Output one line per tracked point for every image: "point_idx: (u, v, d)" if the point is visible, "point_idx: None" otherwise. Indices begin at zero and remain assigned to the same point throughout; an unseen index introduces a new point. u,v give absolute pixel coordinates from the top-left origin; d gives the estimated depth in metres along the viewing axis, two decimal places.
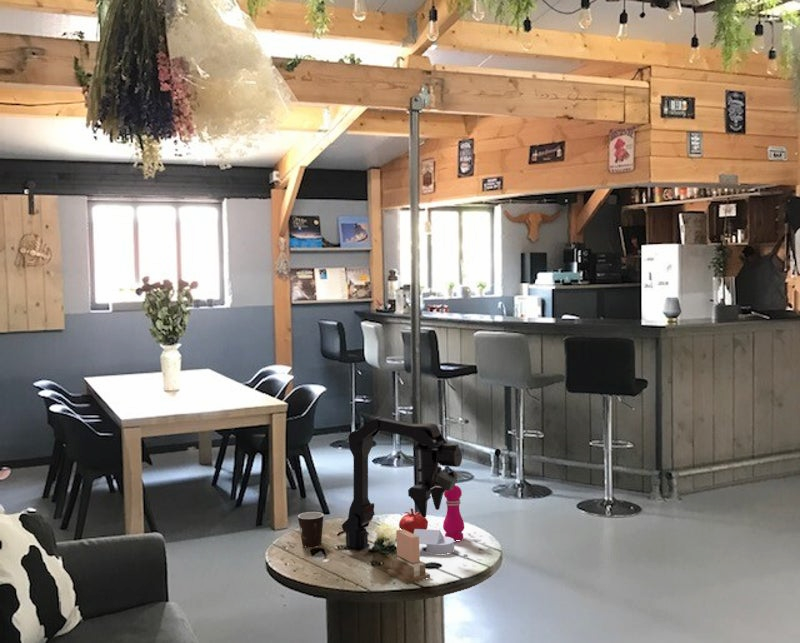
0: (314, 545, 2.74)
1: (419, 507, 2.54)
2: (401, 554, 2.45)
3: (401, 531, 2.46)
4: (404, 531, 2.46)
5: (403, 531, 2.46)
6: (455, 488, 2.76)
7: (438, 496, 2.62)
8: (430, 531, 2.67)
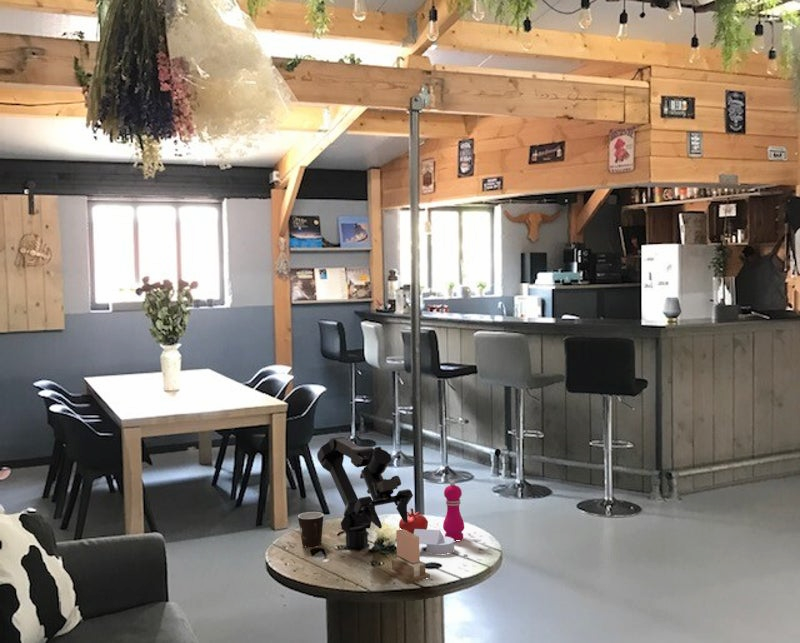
0: (314, 545, 2.74)
1: (373, 521, 2.50)
2: (401, 554, 2.45)
3: (401, 531, 2.46)
4: (404, 531, 2.46)
5: (403, 531, 2.46)
6: (455, 488, 2.76)
7: (402, 510, 2.56)
8: (430, 531, 2.67)
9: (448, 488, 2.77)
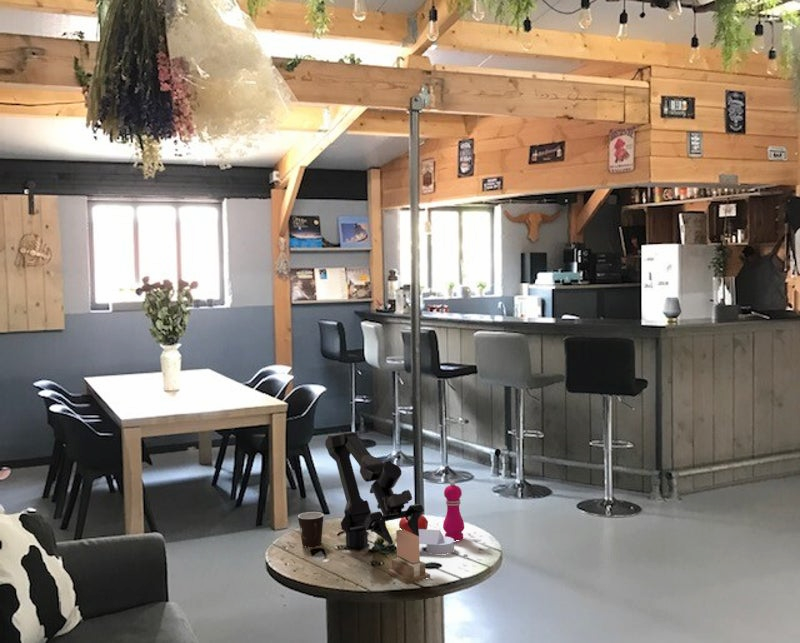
0: (314, 545, 2.74)
1: (383, 537, 2.45)
2: (401, 554, 2.45)
3: (401, 531, 2.46)
4: (404, 531, 2.46)
5: (403, 531, 2.46)
6: (455, 488, 2.76)
7: (413, 525, 2.50)
8: (430, 531, 2.67)
9: (448, 488, 2.77)
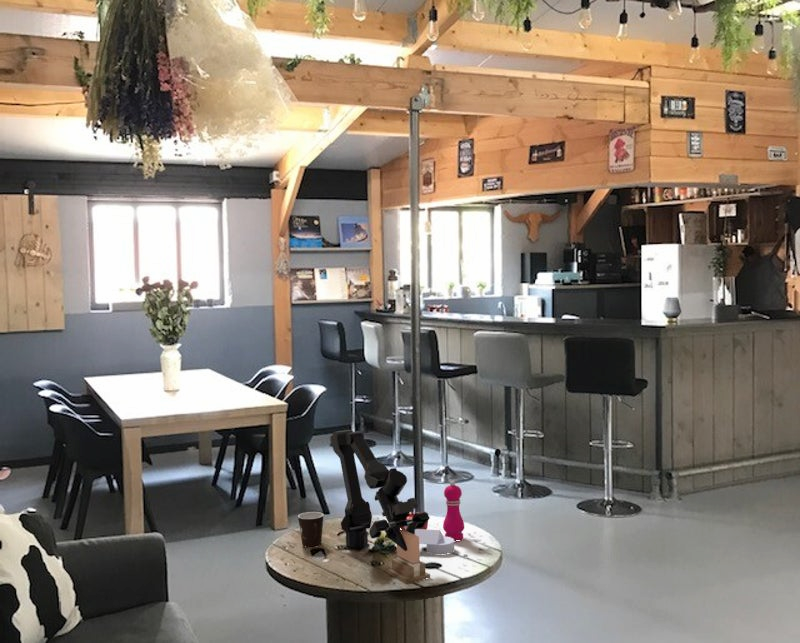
0: (314, 545, 2.74)
1: (398, 543, 2.44)
2: (401, 554, 2.45)
3: (401, 531, 2.46)
4: (404, 531, 2.46)
5: (403, 531, 2.46)
6: (455, 488, 2.76)
7: None
8: (430, 531, 2.67)
9: (448, 488, 2.77)
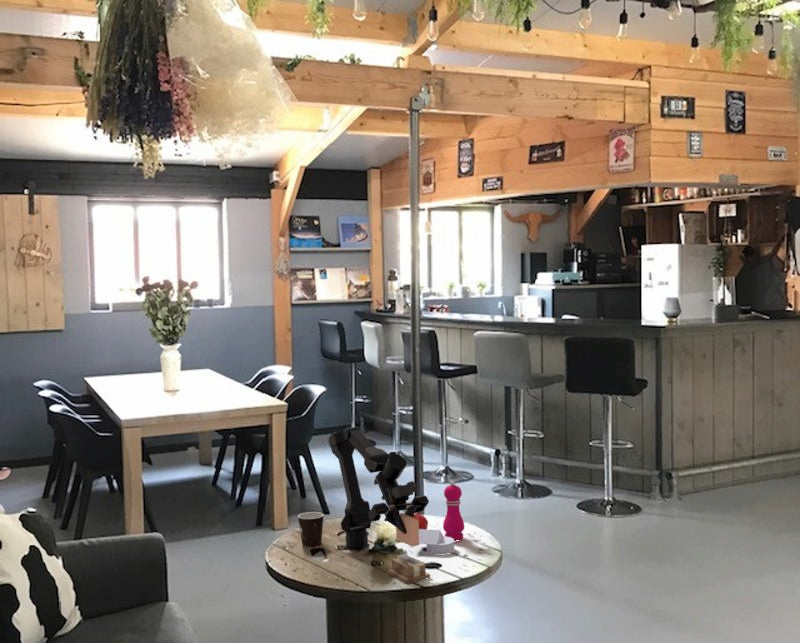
0: (314, 545, 2.74)
1: (397, 526, 2.44)
2: (401, 538, 2.45)
3: (401, 515, 2.46)
4: (404, 515, 2.46)
5: (403, 515, 2.46)
6: (455, 488, 2.76)
7: None
8: (430, 531, 2.67)
9: (448, 488, 2.77)
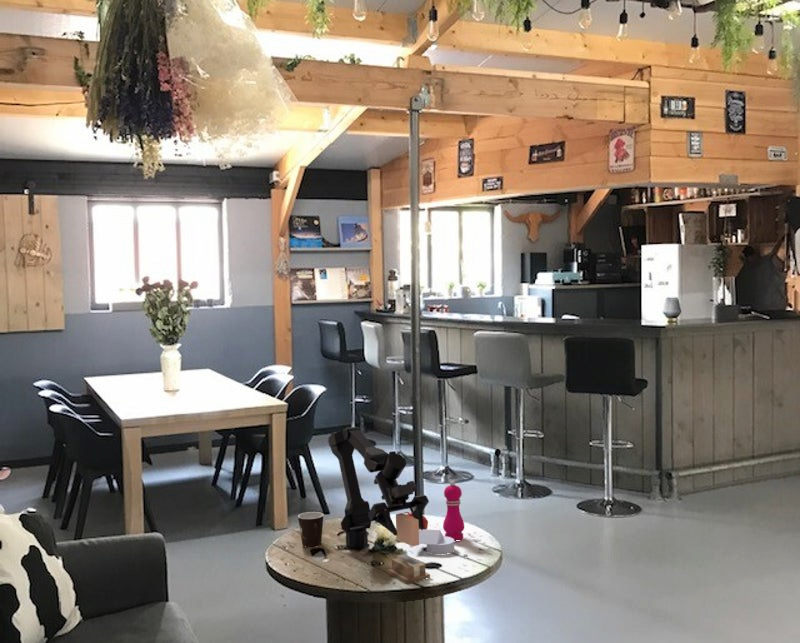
0: (314, 545, 2.74)
1: (388, 528, 2.42)
2: (401, 538, 2.45)
3: (401, 515, 2.46)
4: (404, 515, 2.46)
5: (403, 515, 2.46)
6: (455, 488, 2.76)
7: (418, 516, 2.48)
8: (430, 531, 2.67)
9: (448, 488, 2.77)
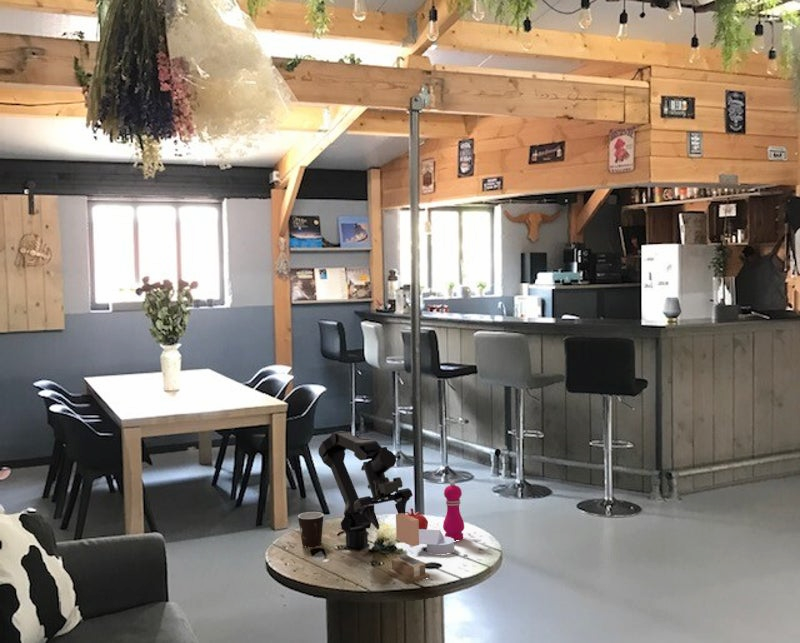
0: (314, 545, 2.74)
1: (371, 520, 2.53)
2: (401, 538, 2.45)
3: (401, 515, 2.46)
4: (404, 515, 2.46)
5: (403, 515, 2.46)
6: (455, 488, 2.76)
7: (400, 509, 2.58)
8: (430, 531, 2.67)
9: (448, 488, 2.77)
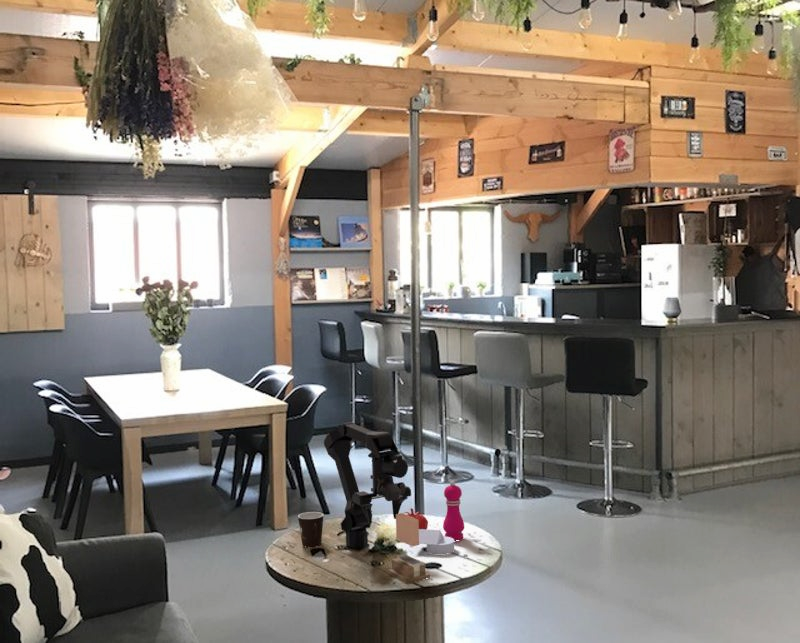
0: (314, 545, 2.74)
1: (365, 514, 2.58)
2: (401, 538, 2.45)
3: (401, 515, 2.46)
4: (404, 515, 2.46)
5: (403, 515, 2.46)
6: (455, 488, 2.76)
7: (395, 506, 2.62)
8: (430, 531, 2.67)
9: (448, 488, 2.77)
